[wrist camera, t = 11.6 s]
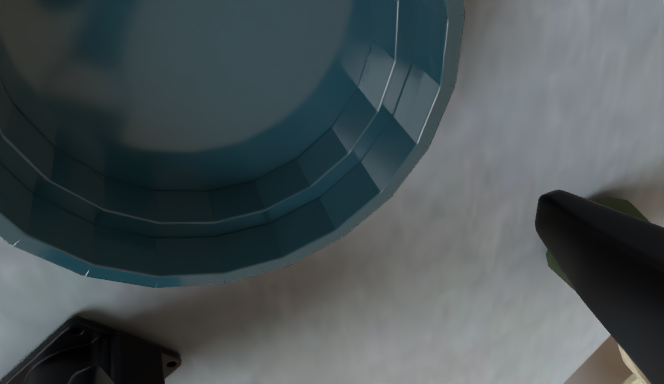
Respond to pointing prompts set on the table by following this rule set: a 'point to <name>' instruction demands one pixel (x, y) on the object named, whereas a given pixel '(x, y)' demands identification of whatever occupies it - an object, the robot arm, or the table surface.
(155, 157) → the bowl
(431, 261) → the table surface
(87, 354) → the robot arm
